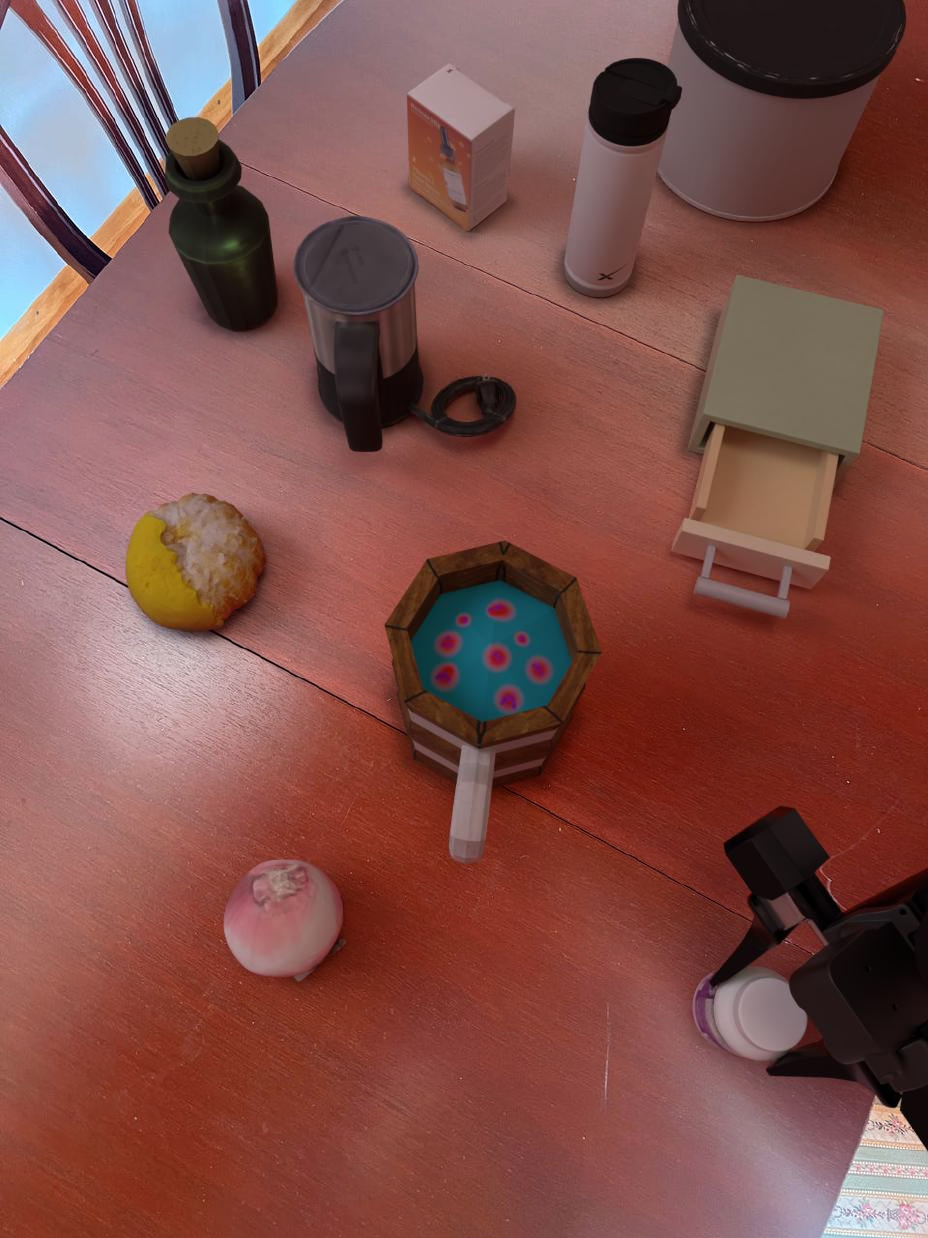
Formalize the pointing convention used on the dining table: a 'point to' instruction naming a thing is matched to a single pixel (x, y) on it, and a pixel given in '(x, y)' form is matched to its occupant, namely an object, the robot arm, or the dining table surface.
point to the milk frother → (377, 334)
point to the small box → (459, 145)
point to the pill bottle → (750, 1014)
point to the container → (771, 98)
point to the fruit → (193, 563)
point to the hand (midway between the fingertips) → (740, 1024)
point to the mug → (488, 673)
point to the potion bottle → (219, 227)
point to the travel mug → (617, 172)
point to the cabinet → (791, 368)
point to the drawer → (758, 515)
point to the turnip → (283, 919)
